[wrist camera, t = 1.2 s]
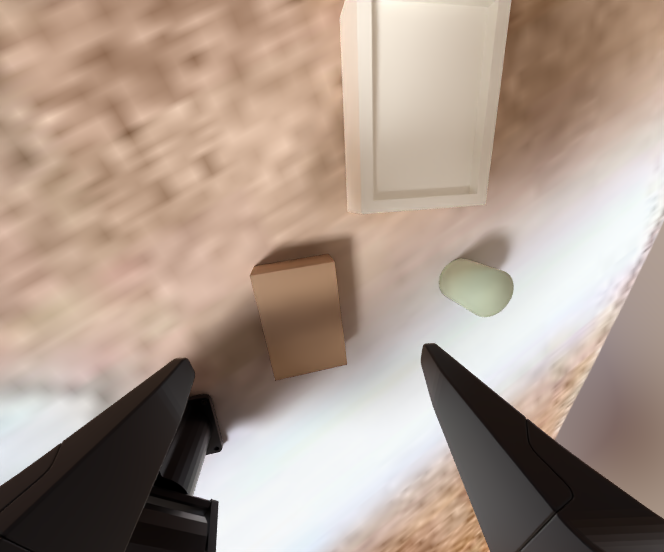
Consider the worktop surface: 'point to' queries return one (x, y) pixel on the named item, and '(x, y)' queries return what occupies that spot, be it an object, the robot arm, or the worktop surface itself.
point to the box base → (420, 101)
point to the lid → (300, 315)
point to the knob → (476, 287)
